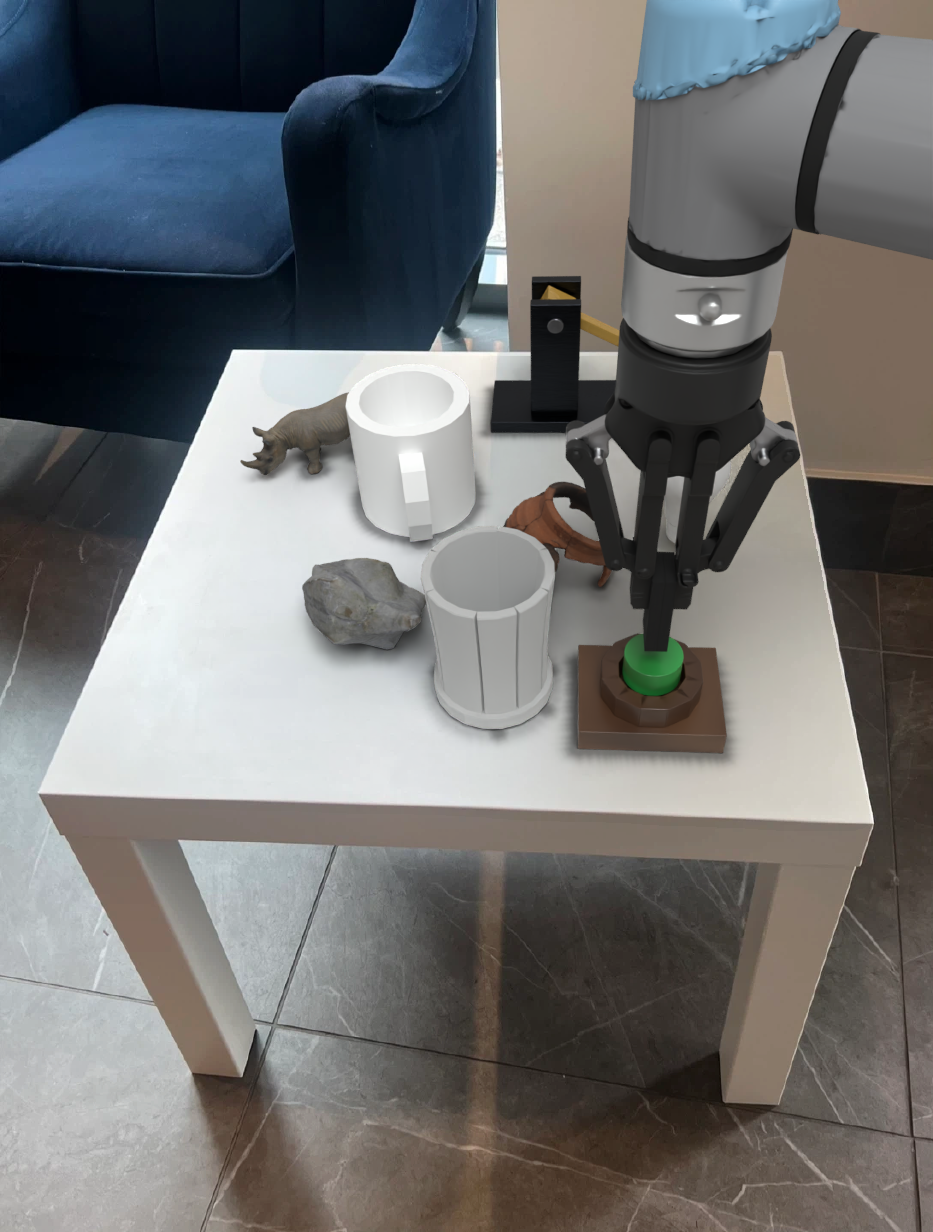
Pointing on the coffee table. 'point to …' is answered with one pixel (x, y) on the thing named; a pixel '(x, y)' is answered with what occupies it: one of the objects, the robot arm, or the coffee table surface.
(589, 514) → the broken clay pot
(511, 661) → the cup
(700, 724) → the button block
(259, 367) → the coffee table surface
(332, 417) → the rhino figurine
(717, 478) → the lightbulb
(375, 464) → the mug
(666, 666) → the light button
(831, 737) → the coffee table surface
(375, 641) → the fossil
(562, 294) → the switch lever
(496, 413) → the switch bracket
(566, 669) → the coffee table surface
